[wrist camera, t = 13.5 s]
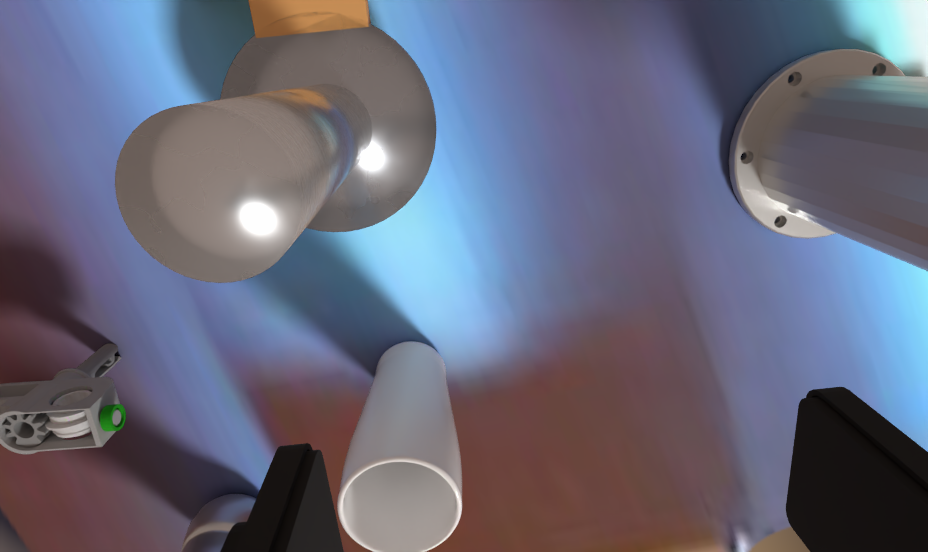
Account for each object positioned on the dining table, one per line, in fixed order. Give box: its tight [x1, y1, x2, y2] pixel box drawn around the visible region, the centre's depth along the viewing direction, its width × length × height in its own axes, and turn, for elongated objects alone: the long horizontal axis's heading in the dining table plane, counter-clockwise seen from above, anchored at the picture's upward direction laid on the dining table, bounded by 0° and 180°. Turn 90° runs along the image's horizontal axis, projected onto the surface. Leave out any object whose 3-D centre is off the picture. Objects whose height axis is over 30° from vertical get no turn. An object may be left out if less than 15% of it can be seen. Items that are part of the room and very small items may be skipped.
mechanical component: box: [0, 344, 126, 454], centre depth 38 cm, size 3×10×10 cm, turn 93°
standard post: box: [115, 11, 436, 283], centre depth 27 cm, size 12×12×24 cm
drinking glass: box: [337, 341, 462, 552], centre depth 37 cm, size 7×7×15 cm
